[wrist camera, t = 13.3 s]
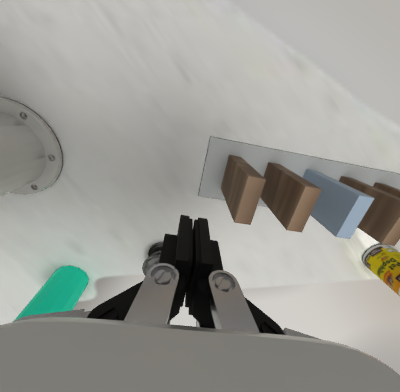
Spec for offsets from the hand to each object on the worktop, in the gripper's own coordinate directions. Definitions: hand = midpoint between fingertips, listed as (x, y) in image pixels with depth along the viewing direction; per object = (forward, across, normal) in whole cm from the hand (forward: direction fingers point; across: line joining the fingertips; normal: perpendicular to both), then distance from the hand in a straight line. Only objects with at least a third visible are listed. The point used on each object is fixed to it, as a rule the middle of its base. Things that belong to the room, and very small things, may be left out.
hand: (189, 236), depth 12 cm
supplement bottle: (+18, -38, +11) cm, 44 cm away
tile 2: (+18, -12, 0) cm, 21 cm away
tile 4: (+18, -24, 0) cm, 30 cm away
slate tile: (+18, -18, 0) cm, 25 cm away
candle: (+18, +18, +25) cm, 36 cm away
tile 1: (+17, -6, 0) cm, 18 cm away
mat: (+18, -18, 0) cm, 25 cm away
